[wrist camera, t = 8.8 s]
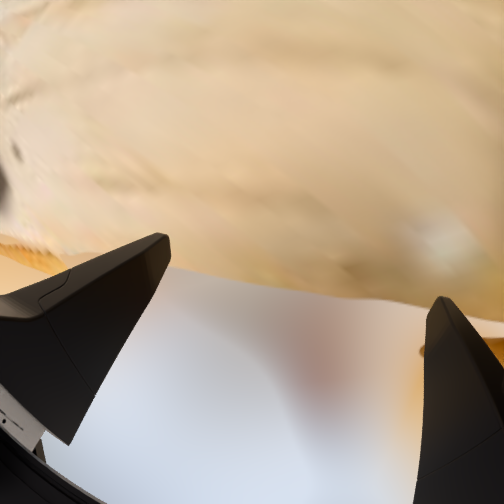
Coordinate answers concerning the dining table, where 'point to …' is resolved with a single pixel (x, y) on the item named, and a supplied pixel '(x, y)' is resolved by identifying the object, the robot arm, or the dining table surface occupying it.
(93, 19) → the dining table surface
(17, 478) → the robot arm
